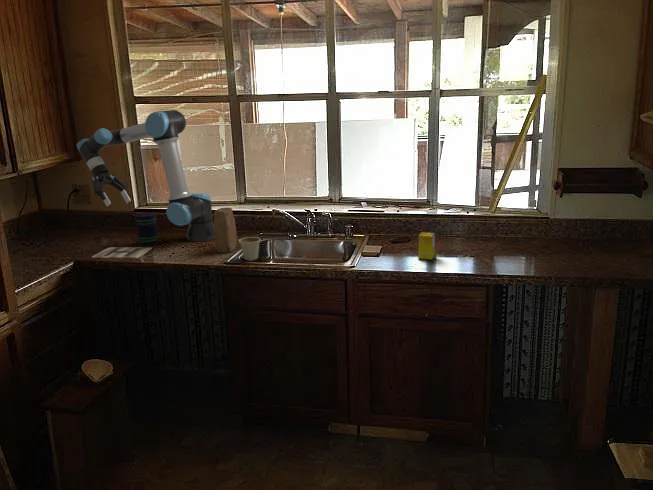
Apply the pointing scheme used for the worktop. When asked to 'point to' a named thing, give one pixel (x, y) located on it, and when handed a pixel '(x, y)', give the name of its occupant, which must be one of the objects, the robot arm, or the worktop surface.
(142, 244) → the dark blue can
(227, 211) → the block
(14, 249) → the worktop surface
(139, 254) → the board
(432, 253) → the supplement box
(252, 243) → the flower pot
